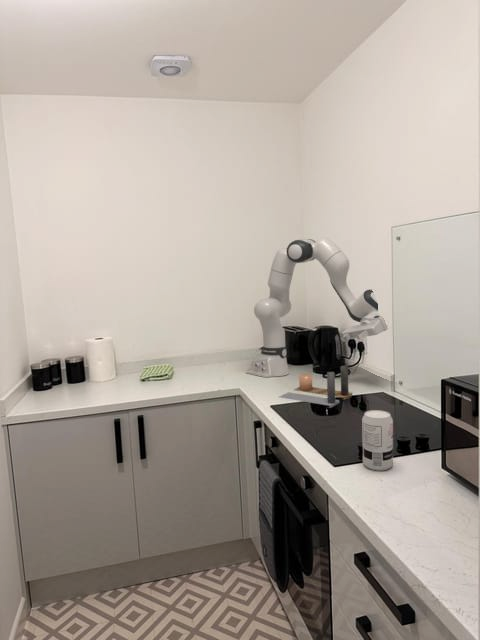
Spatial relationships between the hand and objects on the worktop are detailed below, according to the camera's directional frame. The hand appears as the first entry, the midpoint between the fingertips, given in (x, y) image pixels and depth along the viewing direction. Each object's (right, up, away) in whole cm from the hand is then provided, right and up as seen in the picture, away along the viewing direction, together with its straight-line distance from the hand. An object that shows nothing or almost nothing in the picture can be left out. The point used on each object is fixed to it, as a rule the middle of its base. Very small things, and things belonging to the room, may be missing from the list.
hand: (350, 339), depth 208 cm
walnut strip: (-12, -24, +2) cm, 26 cm away
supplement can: (-8, -33, -70) cm, 78 cm away
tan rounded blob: (-18, -22, +7) cm, 29 cm away
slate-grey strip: (-19, -25, -8) cm, 33 cm away
